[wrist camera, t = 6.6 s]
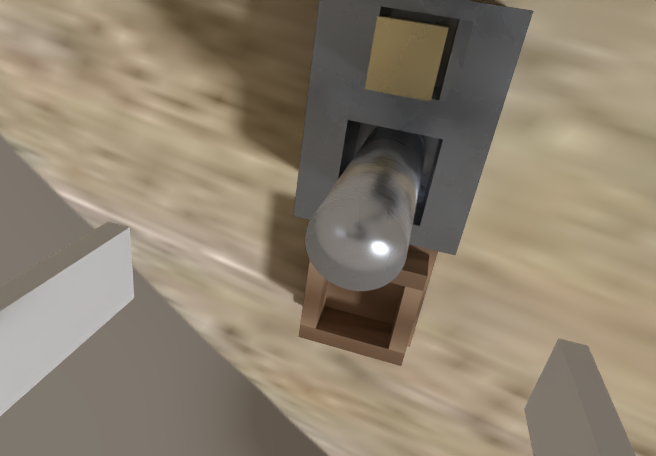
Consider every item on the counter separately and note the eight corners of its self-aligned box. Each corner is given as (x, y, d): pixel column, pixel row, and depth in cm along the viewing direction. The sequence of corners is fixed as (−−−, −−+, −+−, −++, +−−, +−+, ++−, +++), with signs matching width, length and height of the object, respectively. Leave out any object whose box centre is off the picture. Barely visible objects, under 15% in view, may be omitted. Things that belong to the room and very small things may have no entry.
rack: (320, 216, 34) (305, 238, 30) (438, 244, 33) (436, 271, 29) (306, 310, 38) (291, 339, 35) (410, 338, 37) (406, 372, 33)
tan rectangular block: (395, 16, 25) (377, 16, 19) (449, 25, 24) (448, 28, 18) (384, 72, 26) (364, 89, 20) (435, 81, 26) (430, 101, 20)
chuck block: (346, -15, 27) (321, -23, 22) (516, 12, 25) (533, 10, 20) (318, 184, 33) (293, 215, 28) (454, 215, 31) (455, 255, 26)
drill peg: (370, 115, 29) (311, 187, 17) (432, 127, 28) (418, 212, 16) (360, 173, 31) (299, 276, 18) (417, 185, 30) (394, 301, 18)
